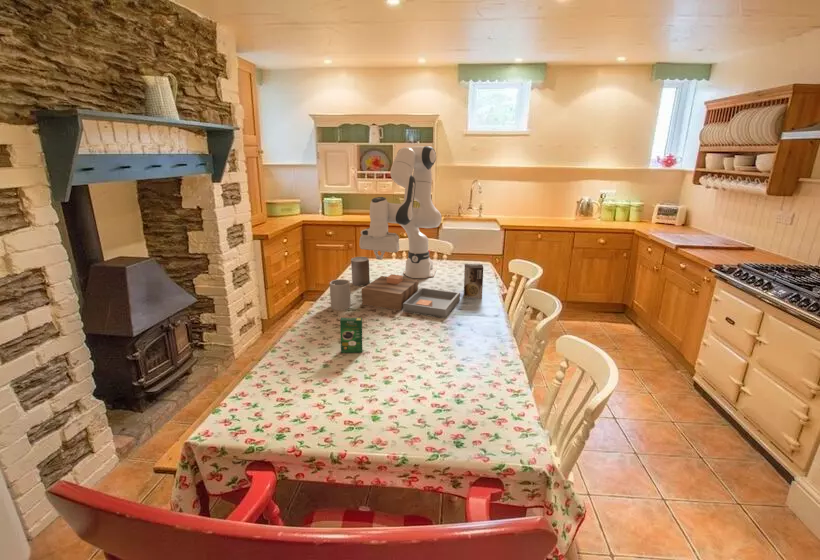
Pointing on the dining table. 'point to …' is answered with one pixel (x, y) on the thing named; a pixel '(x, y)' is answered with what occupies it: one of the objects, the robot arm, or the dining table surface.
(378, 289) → the brown wooden block
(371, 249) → the robot arm
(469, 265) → the coffee box
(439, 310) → the box
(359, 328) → the coffee box
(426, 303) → the terracotta tile
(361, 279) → the pillar candle
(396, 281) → the terracotta tile
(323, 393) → the dining table surface
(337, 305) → the cup
